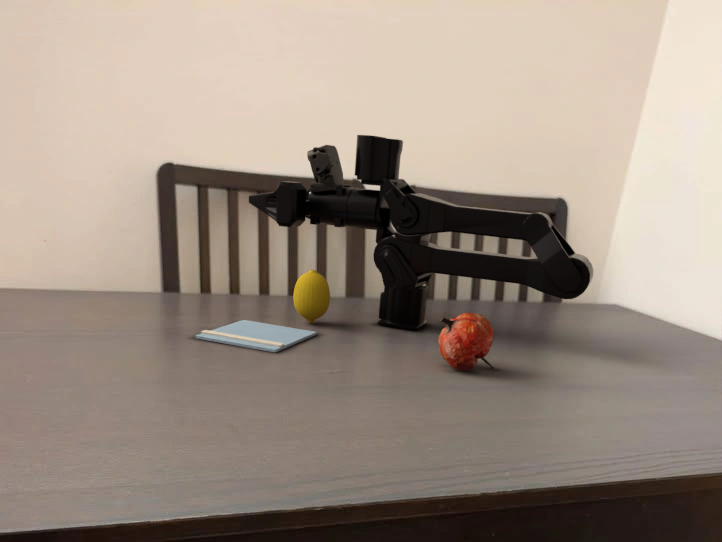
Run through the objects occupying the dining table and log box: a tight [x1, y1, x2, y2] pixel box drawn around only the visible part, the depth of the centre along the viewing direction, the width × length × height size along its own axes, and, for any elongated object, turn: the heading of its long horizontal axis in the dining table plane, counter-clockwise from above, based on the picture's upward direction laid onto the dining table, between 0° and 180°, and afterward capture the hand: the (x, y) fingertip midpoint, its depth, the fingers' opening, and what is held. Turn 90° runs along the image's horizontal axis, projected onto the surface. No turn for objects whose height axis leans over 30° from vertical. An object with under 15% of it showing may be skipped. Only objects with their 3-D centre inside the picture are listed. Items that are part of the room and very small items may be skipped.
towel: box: [194, 319, 318, 354], centre depth 101 cm, size 12×13×1 cm
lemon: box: [292, 269, 331, 324], centre depth 110 cm, size 6×6×8 cm
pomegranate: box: [438, 312, 495, 372], centre depth 93 cm, size 7×7×10 cm
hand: (263, 198), depth 117 cm, fingers open, 9 cm apart
